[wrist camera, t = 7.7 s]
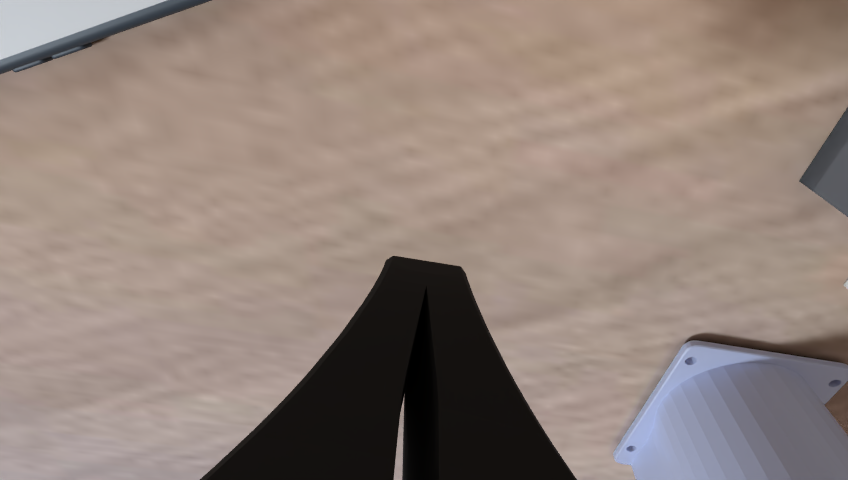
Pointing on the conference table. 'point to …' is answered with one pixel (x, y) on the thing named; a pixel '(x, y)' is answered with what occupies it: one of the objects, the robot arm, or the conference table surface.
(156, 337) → the conference table surface
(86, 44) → the smartphone
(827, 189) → the shell tray
